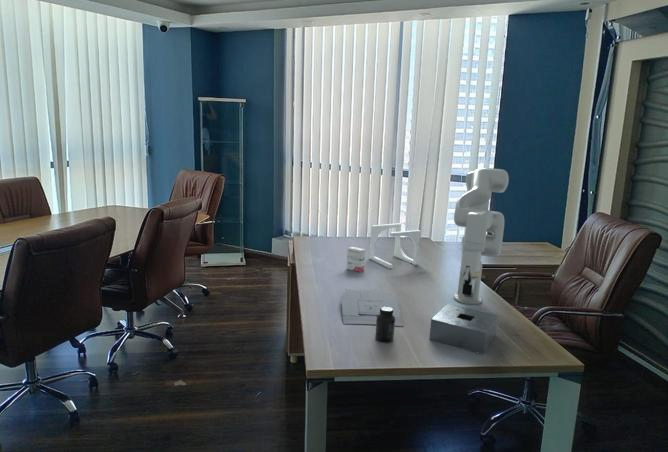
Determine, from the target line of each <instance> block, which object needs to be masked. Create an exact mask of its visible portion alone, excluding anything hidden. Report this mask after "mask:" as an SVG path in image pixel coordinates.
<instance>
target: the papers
mask: <svg viewBox="0 0 668 452" xmlns="http://www.w3.org/2000/svg"><path fill="white" fill-rule="evenodd" d="M384 306H387V307H391V308H393V316H394V317H395V327H404V322H403V317H402V314H401V310H400V307H399V303H398V300H397V298H396V297H395V295H394V294H392V293H391V290H390V291H388V290H387V291H385V290H364V289H363V290H361V289H346V288H345V291H344V292H342V295H341V311H342V321H343V324H345V325H376V321H377V316H378V315H379V314H380V308H381V307H384Z"/></svg>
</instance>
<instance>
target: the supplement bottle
mask: <svg viewBox="0 0 668 452" xmlns="http://www.w3.org/2000/svg"><path fill="white" fill-rule="evenodd" d="M395 327H396V326H395V317H394V316H393V308H391V307H387V306H384V307H381V308H380V314H379V315H378V316H377V321H376V324H375V333H374V334H375V336H374V337H375V339H376V341H377V342H380V343H391V342H393V340H394V338H395Z"/></svg>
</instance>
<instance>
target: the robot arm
mask: <svg viewBox="0 0 668 452" xmlns="http://www.w3.org/2000/svg"><path fill="white" fill-rule="evenodd" d="M509 180H510V178H509V173H508V171H506V170H505V169H501V168H488V167H480V168H477V169H475V170H474V171H473V170H472V171H469V172H467V173H466V175H465V185H466V189H467V190H466V191H467V192H465V193H463V195H461V196H460V197H459V198H458V200H457V201H456V203H455V208H454V214H453V221H454V224H455V225H456V226H457V227H461V228H465V229H464V235H463V236H462V238H461V259H460V267H459V269H460V271H459V277H458V289H457V293H454V294H453V299H454V300H455V301H457V302H458V303H461V304H466V305H478V304H481V303H482V302H483V301H482V298H481V296H480V289H481V280H482V273H483V263H482V256H483V257H484V256H485V257H489V258H490V257H492V258H497V257H500V255H501V252H502V248H503V247H502V246H503V238H504V230H505V217H504V214H503V213H502V212H500V211H492V210H489V205H490V200H491V199H492V194H493V193H499V194H500V193H504V192H505V191H506V190H507V188H508V185H509V182H510V181H509ZM492 192H493V193H492ZM487 233H491V234H492V235H490V234H487ZM464 272H465V273H464ZM477 272H479V277H477V278H476V280H475V288H474V296H473V297H465V296H463V294H466V295H471V292H472V285H471V284H472V278H473V277H474V276H475V274H476V273H477ZM464 274H465V276H463V275H464ZM469 275H471V277H469ZM469 278H470V279H469Z"/></svg>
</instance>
